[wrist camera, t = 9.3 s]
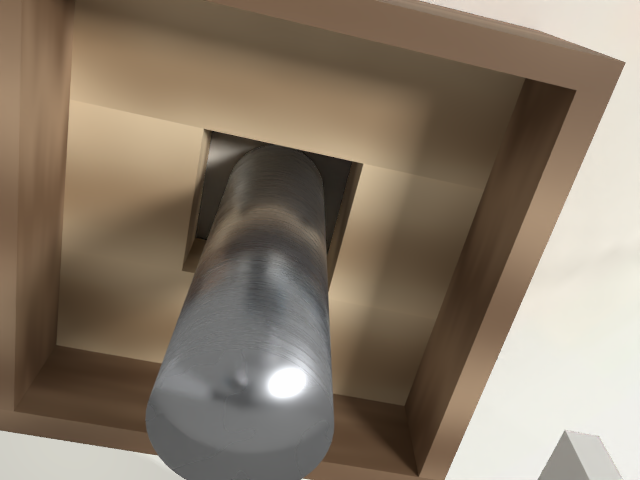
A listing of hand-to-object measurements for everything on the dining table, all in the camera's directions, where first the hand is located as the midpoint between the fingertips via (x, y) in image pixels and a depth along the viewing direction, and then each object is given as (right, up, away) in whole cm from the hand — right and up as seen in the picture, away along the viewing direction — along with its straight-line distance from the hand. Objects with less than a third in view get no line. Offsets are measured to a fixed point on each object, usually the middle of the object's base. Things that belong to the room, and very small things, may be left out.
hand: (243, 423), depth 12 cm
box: (0, +6, +13) cm, 14 cm away
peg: (0, +6, +13) cm, 14 cm away
